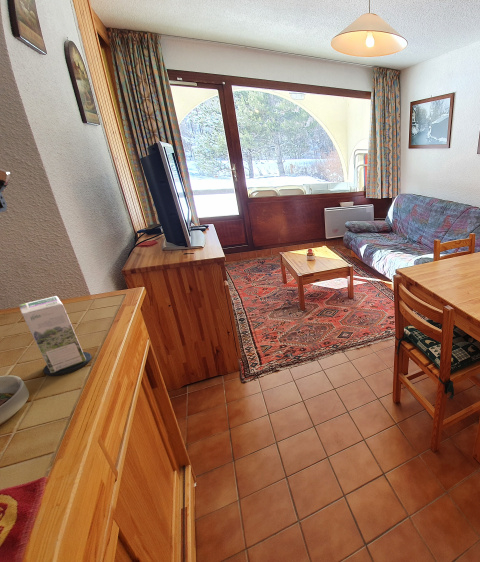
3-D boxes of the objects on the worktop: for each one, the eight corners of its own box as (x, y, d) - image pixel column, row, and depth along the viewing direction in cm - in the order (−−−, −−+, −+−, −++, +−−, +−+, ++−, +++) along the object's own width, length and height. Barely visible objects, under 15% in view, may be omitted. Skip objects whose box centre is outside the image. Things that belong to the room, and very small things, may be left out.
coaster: (36, 380, 63) (35, 377, 62) (53, 358, 69) (52, 356, 69) (84, 370, 66) (83, 368, 65) (96, 350, 72) (95, 348, 72)
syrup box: (81, 351, 71) (56, 294, 65) (87, 361, 67) (62, 302, 62) (46, 363, 67) (17, 303, 61) (51, 375, 63) (20, 312, 58)
